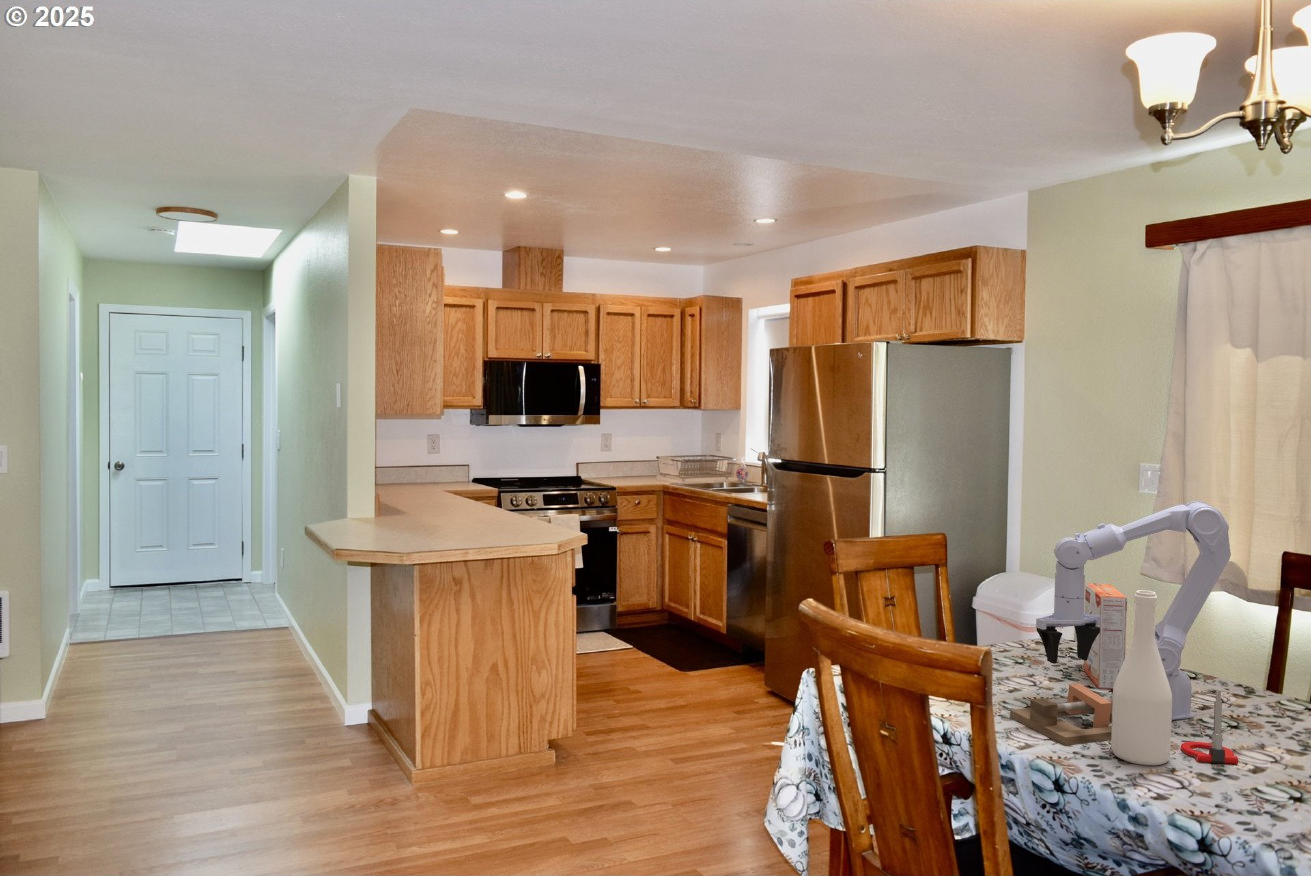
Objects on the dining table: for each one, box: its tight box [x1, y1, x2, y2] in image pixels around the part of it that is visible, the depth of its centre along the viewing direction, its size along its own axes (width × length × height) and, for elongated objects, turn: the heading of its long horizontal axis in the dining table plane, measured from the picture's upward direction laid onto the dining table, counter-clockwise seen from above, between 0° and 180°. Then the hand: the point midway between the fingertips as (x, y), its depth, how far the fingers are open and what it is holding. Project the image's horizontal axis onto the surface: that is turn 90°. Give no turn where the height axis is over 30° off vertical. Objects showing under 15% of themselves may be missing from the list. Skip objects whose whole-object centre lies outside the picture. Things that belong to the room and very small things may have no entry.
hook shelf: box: [1009, 697, 1113, 746], centre depth 193 cm, size 24×16×6 cm, turn 107°
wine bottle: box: [1110, 589, 1172, 766], centre depth 176 cm, size 10×10×30 cm
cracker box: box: [1083, 582, 1128, 690], centre depth 222 cm, size 14×6×21 cm, turn 168°
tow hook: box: [1180, 689, 1239, 765], centre depth 178 cm, size 8×13×9 cm
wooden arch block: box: [1066, 683, 1112, 728], centre depth 193 cm, size 2×9×6 cm, turn 17°
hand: (1067, 660), depth 205 cm, fingers open, 7 cm apart
